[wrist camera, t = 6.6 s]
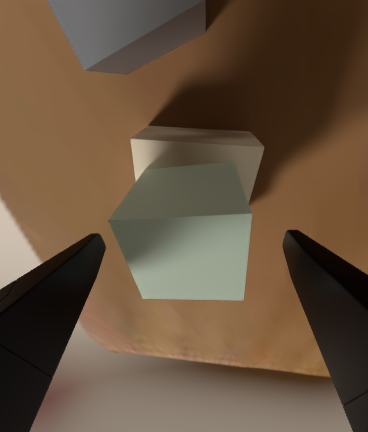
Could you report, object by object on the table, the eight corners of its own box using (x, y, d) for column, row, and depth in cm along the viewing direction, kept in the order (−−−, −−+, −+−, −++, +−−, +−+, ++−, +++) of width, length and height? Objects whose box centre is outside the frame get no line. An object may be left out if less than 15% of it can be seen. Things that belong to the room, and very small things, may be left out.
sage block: (233, 161, 10) (252, 213, 6) (231, 232, 13) (243, 300, 9) (144, 169, 11) (108, 220, 7) (161, 234, 14) (142, 298, 10)
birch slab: (249, 130, 13) (264, 147, 9) (230, 214, 17) (236, 245, 14) (148, 124, 13) (130, 139, 10) (154, 207, 17) (142, 236, 14)
